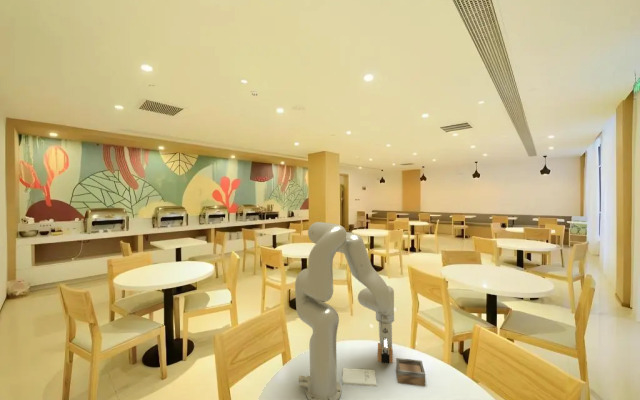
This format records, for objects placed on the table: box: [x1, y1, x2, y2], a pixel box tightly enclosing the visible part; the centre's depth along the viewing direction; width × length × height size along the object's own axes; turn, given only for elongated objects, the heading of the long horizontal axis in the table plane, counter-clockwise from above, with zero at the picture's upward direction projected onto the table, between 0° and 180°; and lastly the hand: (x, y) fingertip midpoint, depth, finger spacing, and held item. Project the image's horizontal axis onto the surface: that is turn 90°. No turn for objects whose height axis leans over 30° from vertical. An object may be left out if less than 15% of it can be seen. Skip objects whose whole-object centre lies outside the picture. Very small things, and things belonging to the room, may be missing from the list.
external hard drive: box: [342, 367, 377, 387], centre depth 104 cm, size 2×8×12 cm
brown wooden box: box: [395, 357, 426, 387], centre depth 104 cm, size 10×8×4 cm
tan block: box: [377, 342, 394, 364], centre depth 116 cm, size 6×4×6 cm
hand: (385, 355), depth 116 cm, fingers open, 9 cm apart
